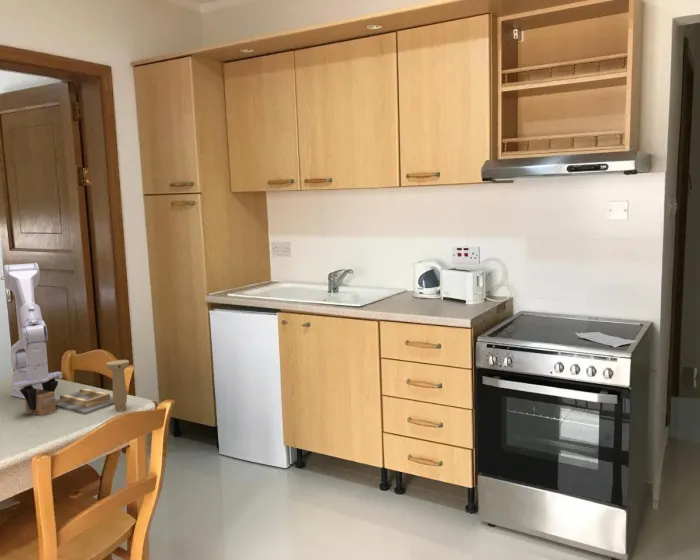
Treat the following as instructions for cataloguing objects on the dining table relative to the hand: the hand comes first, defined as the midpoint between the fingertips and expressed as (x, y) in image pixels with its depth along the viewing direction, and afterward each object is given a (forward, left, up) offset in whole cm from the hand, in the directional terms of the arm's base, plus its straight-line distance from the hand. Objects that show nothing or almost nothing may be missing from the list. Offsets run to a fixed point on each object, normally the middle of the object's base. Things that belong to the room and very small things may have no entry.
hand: (40, 406), depth 188 cm
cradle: (+5, +12, -1) cm, 13 cm away
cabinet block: (0, 0, -2) cm, 2 cm away
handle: (+21, +13, -2) cm, 24 cm away
